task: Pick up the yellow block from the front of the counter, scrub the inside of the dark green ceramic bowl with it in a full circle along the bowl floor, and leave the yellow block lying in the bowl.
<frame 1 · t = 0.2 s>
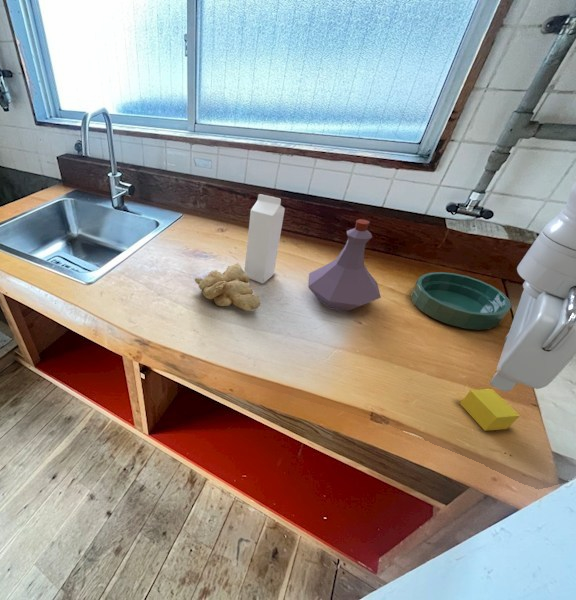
hand: (505, 363, 40), 16 cm above the worktop, tool pointing down, fingers open, 8 cm apart
bowl: (452, 307, 74), on the worktop
ginger root: (225, 298, 81), on the worktop
milk: (258, 276, 88), on the worktop
flask: (337, 300, 78), on the worktop
yellow block: (482, 415, 52), on the worktop
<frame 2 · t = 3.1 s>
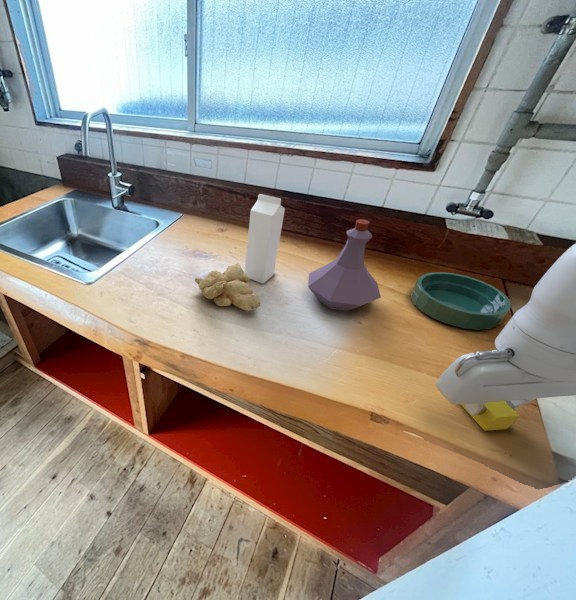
hand: (487, 409, 51), 2 cm above the worktop, tool pointing down, fingers closed on yellow block, 3 cm apart
yellow block: (482, 415, 52), on the worktop, touching gripper
everything else where it was.
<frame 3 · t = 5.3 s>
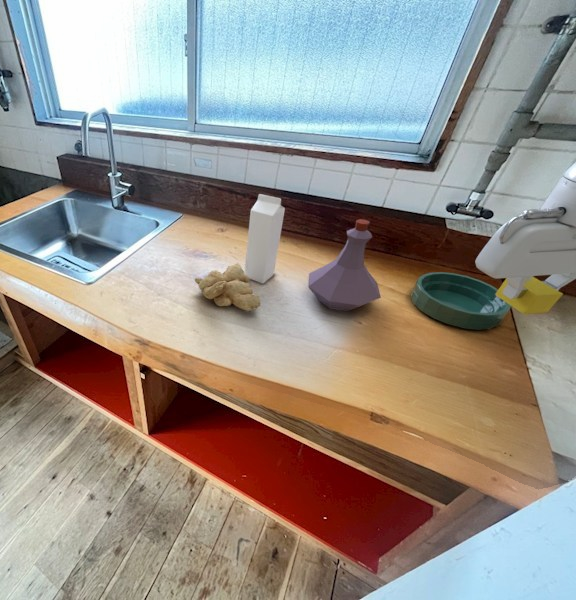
hand: (526, 295, 48), 18 cm above the worktop, tool pointing down, fingers closed on yellow block, 3 cm apart
yellow block: (519, 303, 49), point 16 cm above the worktop, touching gripper
everything else where it was.
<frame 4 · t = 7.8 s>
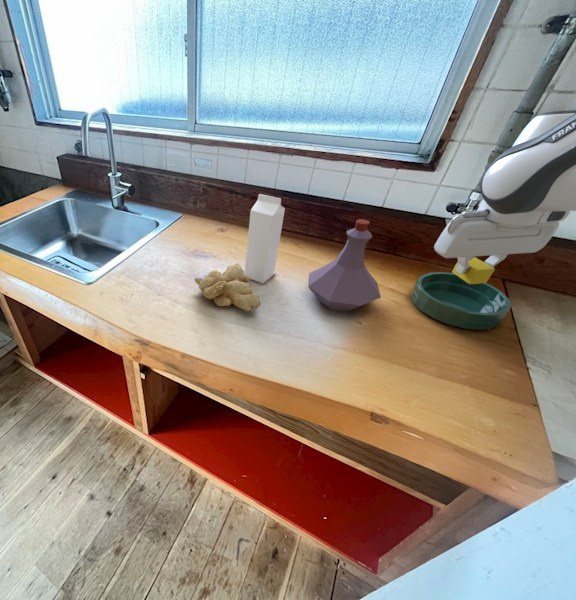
hand: (472, 271, 68), 10 cm above the worktop, tool pointing down, fingers closed on yellow block, 3 cm apart
yellow block: (468, 277, 69), point 8 cm above the worktop, touching gripper
everything else where it was.
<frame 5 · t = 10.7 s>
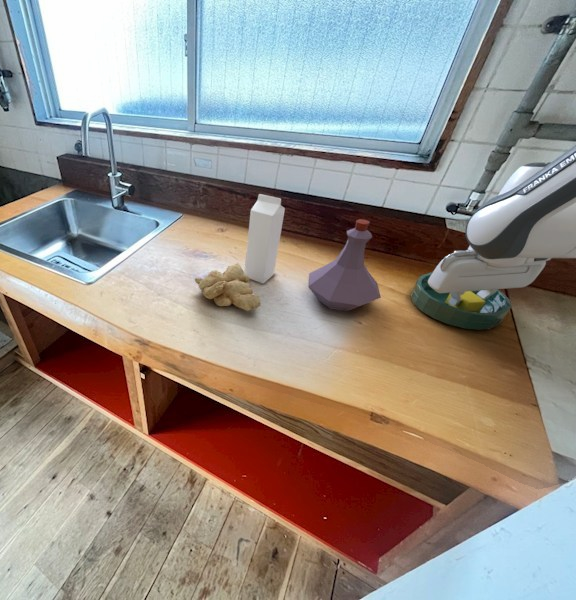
hand: (464, 303, 71), 2 cm above the worktop, tool pointing down, fingers closed on yellow block, 3 cm apart
yellow block: (460, 308, 73), point 1 cm above the worktop, touching gripper
everything else where it was.
when the fingers open (2 cm above the worktop, at t = 12.7 s): yellow block stays where it is, resting on bowl.
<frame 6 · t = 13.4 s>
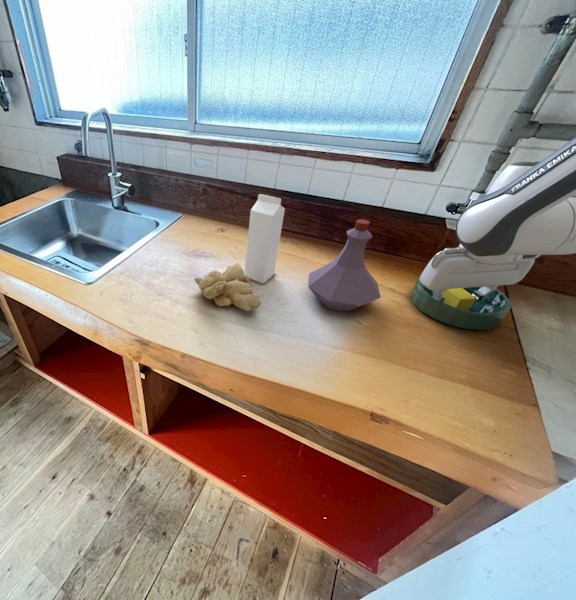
hand: (456, 300, 73), 2 cm above the worktop, tool pointing down, fingers open, 8 cm apart
yellow block: (452, 304, 74), point 1 cm above the worktop, touching bowl
everything else where it was.
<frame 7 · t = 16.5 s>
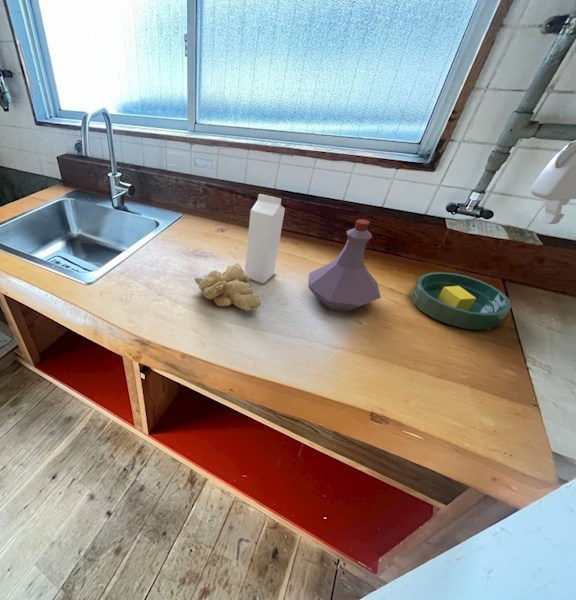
hand: (574, 221, 56), 23 cm above the worktop, tool pointing down, fingers open, 8 cm apart
nothing on the worktop moved.
at the end: yellow block inside the target area in the bowl (0.3 cm from its centre), point 0.6 cm above the bowl's base; the gripper is holding nothing; yellow block moved 31.7 cm from its start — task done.
